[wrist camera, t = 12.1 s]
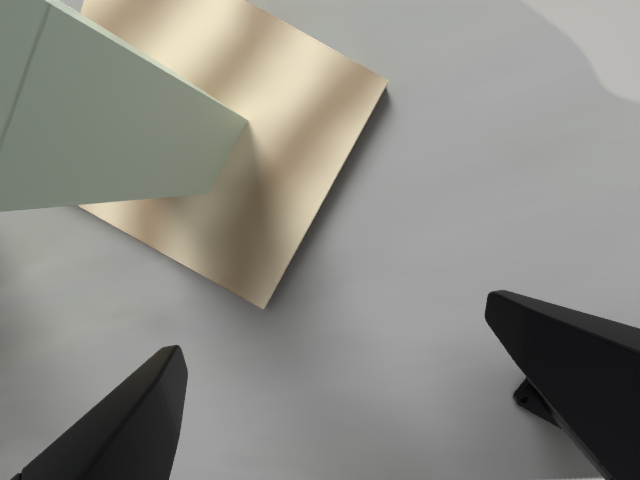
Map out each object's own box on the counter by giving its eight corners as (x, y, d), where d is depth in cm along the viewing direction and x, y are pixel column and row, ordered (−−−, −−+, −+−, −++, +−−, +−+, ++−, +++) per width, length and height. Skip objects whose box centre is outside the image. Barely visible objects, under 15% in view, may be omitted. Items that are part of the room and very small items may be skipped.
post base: (386, 87, 18) (397, 55, 13) (268, 302, 22) (245, 335, 17) (123, -61, 18) (45, -143, 13) (47, 179, 21) (-36, 178, 17)
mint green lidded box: (248, 120, 18) (3, -24, 5) (208, 193, 19) (-72, 217, 7) (174, 71, 18) (-249, -191, 5) (139, 148, 19) (-281, 83, 6)
